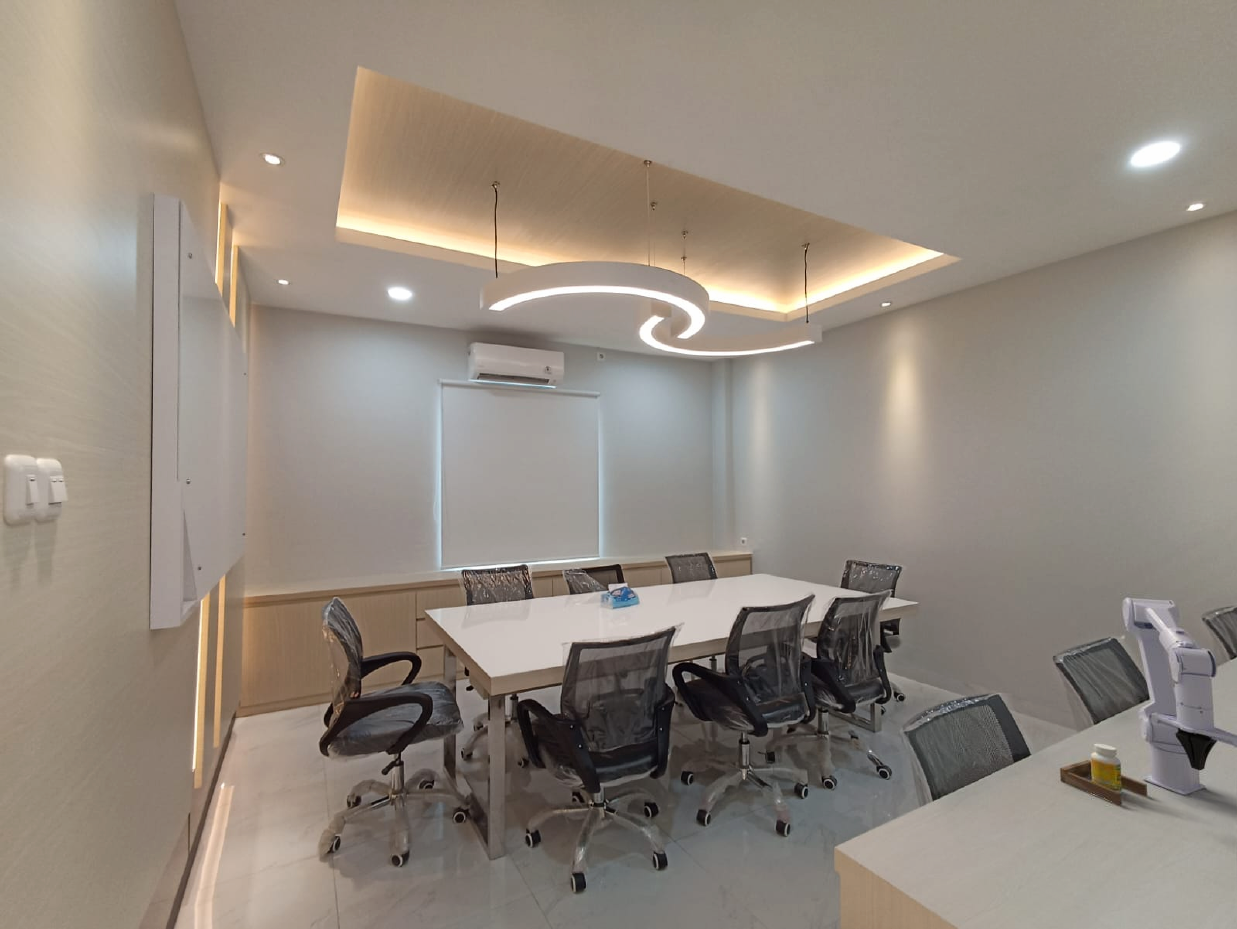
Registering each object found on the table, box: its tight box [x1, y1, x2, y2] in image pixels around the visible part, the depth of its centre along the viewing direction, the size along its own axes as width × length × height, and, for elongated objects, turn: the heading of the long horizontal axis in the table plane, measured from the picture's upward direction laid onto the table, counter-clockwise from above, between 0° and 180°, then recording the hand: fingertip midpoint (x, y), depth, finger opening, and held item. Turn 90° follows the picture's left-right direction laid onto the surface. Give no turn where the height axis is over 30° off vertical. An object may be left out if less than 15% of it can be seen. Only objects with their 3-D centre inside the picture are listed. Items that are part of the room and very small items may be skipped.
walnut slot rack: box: [1059, 759, 1148, 806], centre depth 135 cm, size 11×12×3 cm
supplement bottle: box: [1090, 743, 1122, 793], centre depth 134 cm, size 5×5×10 cm
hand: (1197, 768), depth 123 cm, fingers closed
